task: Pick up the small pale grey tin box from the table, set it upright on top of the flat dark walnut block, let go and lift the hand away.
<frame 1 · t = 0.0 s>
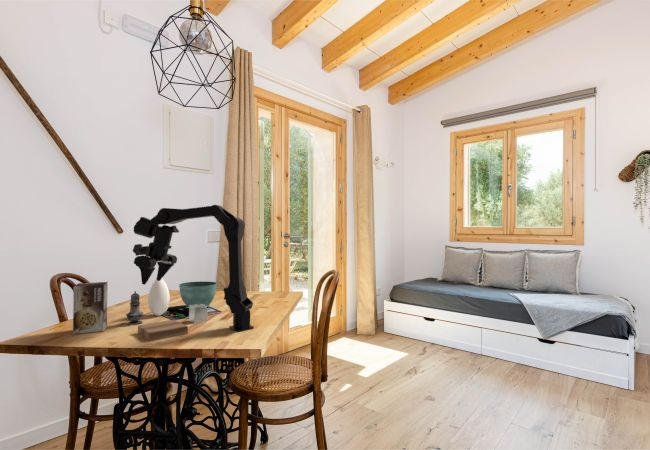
hand: (151, 282, 131), 15 cm above the table, tool pointing down, fingers open, 9 cm apart
walnut block: (162, 334, 120), on the table
white tall oval piece: (158, 315, 145), on the table
salt shaker: (134, 323, 133), on the table
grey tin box: (198, 321, 137), on the table
coffee box: (90, 330, 123), on the table
flower pot: (198, 308, 160), on the table
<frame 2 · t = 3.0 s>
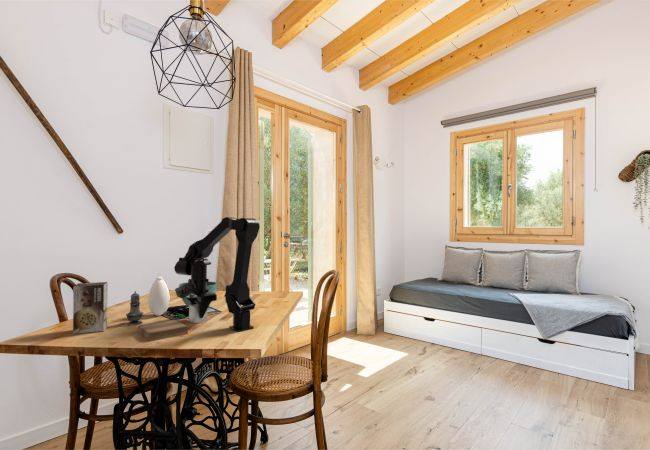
hand: (198, 316, 137), 2 cm above the table, tool pointing down, fingers closed on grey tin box, 5 cm apart
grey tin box: (198, 320, 137), on the table, touching gripper
everything else where it was.
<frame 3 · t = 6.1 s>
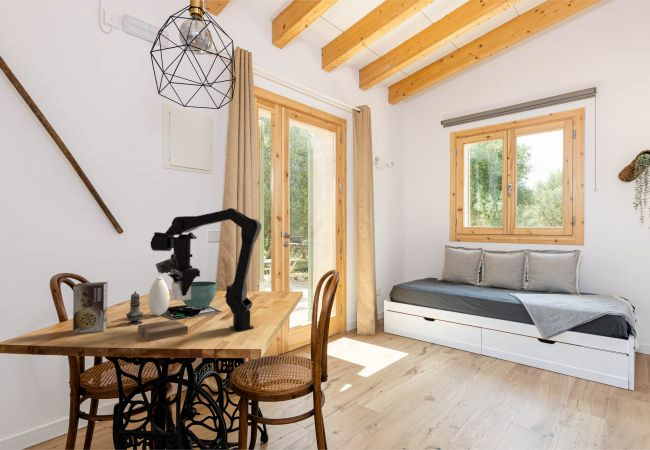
hand: (181, 294, 129), 12 cm above the table, tool pointing down, fingers closed on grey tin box, 5 cm apart
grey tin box: (181, 298, 129), point 10 cm above the table, touching gripper
everything else where it was.
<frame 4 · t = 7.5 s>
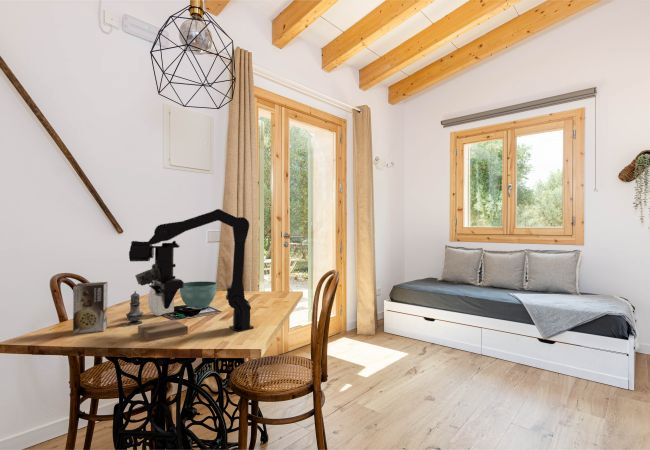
hand: (163, 307, 120), 9 cm above the table, tool pointing down, fingers closed on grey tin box, 5 cm apart
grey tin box: (163, 311, 120), point 7 cm above the table, touching gripper
everything else where it was.
when the fingers open (5 cm above the table, at t = 9.0 s): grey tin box drops 1 cm, point 2 cm above the table.
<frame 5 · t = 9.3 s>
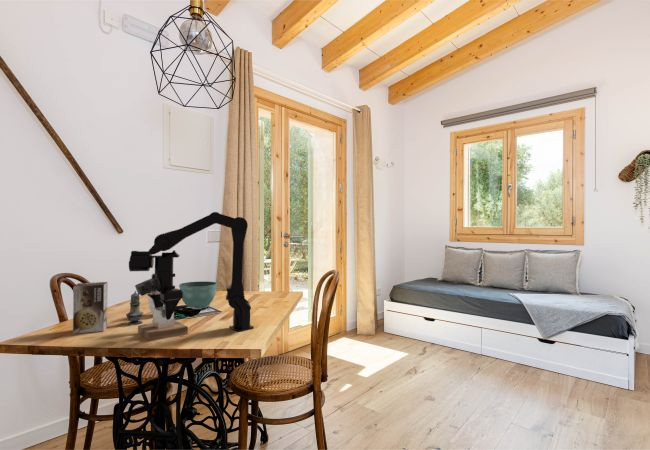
hand: (163, 317, 120), 5 cm above the table, tool pointing down, fingers open, 8 cm apart
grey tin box: (163, 325, 120), point 2 cm above the table
everything else where it was.
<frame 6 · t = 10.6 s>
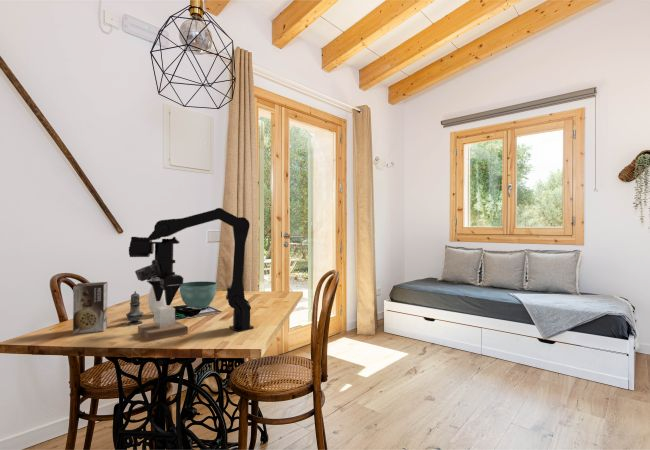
hand: (163, 303, 120), 10 cm above the table, tool pointing down, fingers open, 9 cm apart
walnut block: (162, 335, 120), on the table, touching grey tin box
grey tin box: (164, 325, 121), point 2 cm above the table, touching walnut block
everything else where it was.
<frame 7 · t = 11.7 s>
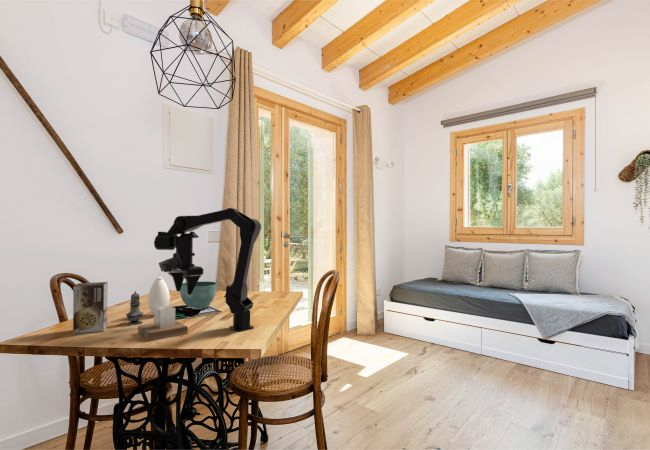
hand: (183, 292, 131), 12 cm above the table, tool pointing down, fingers open, 9 cm apart
walnut block: (162, 335, 120), on the table
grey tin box: (164, 325, 121), point 2 cm above the table
everything else where it was.
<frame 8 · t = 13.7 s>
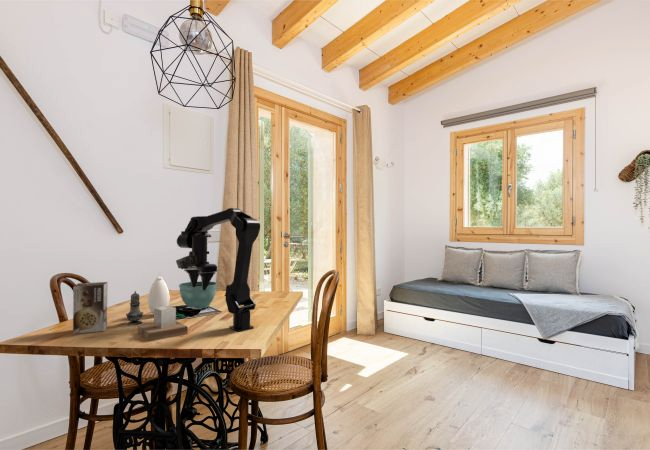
hand: (198, 288, 139), 12 cm above the table, tool pointing down, fingers open, 9 cm apart
nothing on the table moved.
at the end: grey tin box 0.7 cm off-centre on the walnut block, point 3.0 cm above the walnut block's base; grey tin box tilted 0°; the gripper is holding nothing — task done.
